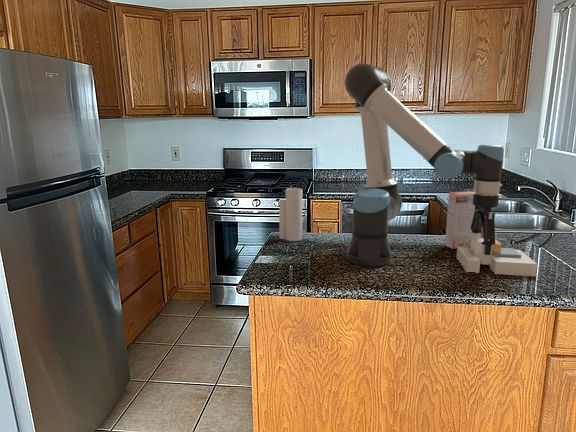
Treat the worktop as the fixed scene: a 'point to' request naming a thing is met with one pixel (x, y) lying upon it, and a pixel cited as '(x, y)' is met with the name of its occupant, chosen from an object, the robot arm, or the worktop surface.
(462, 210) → the cracker box
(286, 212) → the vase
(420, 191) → the worktop surface
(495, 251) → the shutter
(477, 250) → the plug
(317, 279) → the worktop surface
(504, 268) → the socket
